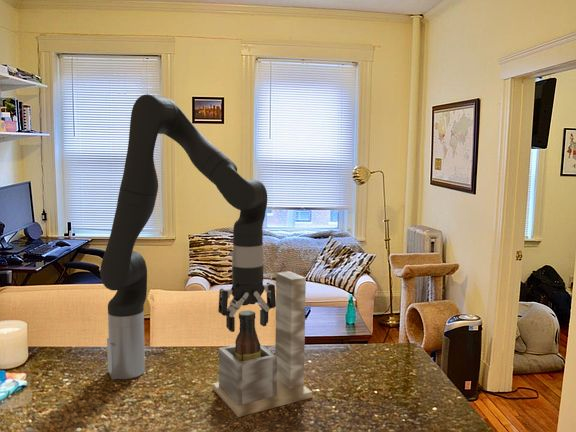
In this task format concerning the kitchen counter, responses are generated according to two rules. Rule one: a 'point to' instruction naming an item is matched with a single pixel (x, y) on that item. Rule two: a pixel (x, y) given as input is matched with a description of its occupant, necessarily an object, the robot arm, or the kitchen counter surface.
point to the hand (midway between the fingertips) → (247, 328)
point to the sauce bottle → (247, 338)
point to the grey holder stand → (270, 358)
